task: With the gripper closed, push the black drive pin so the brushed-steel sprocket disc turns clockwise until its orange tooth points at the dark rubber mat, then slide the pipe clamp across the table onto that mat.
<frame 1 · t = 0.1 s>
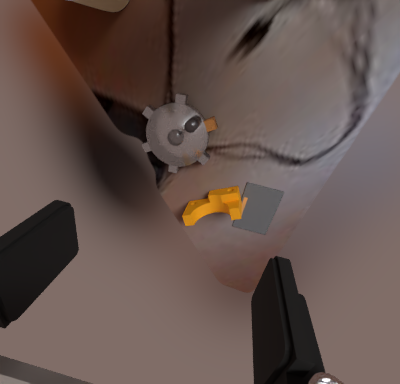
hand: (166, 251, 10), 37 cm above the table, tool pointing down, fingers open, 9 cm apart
sprocket: (174, 139, 41), point 5 cm above the table, hinge at 0.0°
pipe clamp: (214, 198, 51), on the table, touching mat
mat: (256, 209, 50), on the table
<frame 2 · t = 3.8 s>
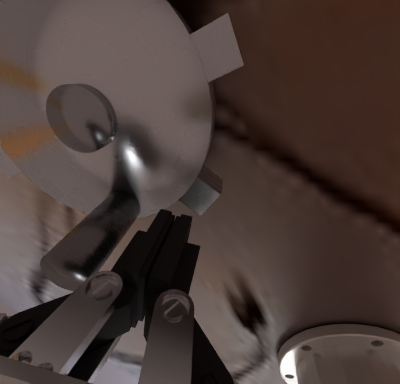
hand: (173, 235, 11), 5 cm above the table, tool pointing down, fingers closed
sprocket: (66, 125, 9), point 5 cm above the table, hinge at 3.9°, touching gripper
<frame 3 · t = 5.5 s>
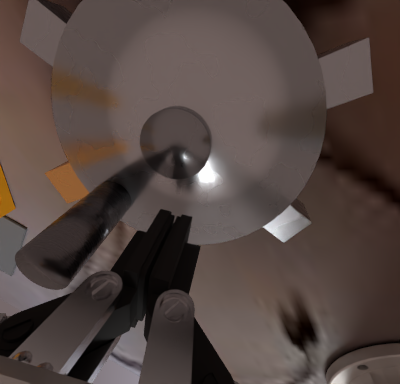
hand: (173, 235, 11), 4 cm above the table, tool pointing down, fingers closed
sprocket: (168, 152, 9), point 5 cm above the table, hinge at 64.9°, touching gripper
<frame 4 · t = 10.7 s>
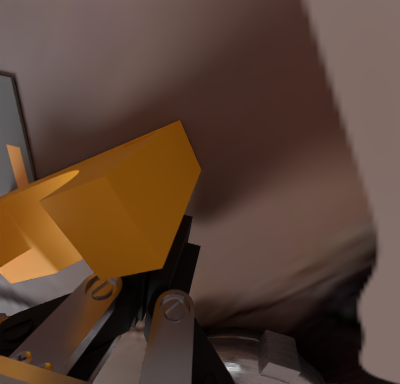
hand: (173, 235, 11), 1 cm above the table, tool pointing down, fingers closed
pipe clamp: (105, 194, 13), on the table, touching gripper
sprocket plinth: (242, 364, 19), on the table
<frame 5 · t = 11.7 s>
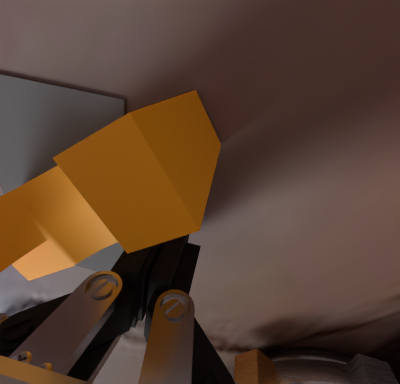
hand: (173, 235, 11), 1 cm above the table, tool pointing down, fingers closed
pipe clamp: (119, 181, 12), on the table, touching gripper
sprocket plinth: (310, 382, 18), on the table
mat: (62, 192, 13), on the table
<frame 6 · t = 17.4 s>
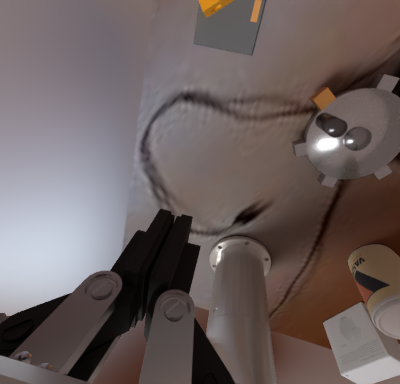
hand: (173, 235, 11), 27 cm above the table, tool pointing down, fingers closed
sprocket: (360, 140, 28), point 5 cm above the table, hinge at 65.0°
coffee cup: (370, 259, 42), on the table
skincare box: (351, 317, 50), on the table
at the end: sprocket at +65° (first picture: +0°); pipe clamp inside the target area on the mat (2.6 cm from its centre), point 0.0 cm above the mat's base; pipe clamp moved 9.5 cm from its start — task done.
